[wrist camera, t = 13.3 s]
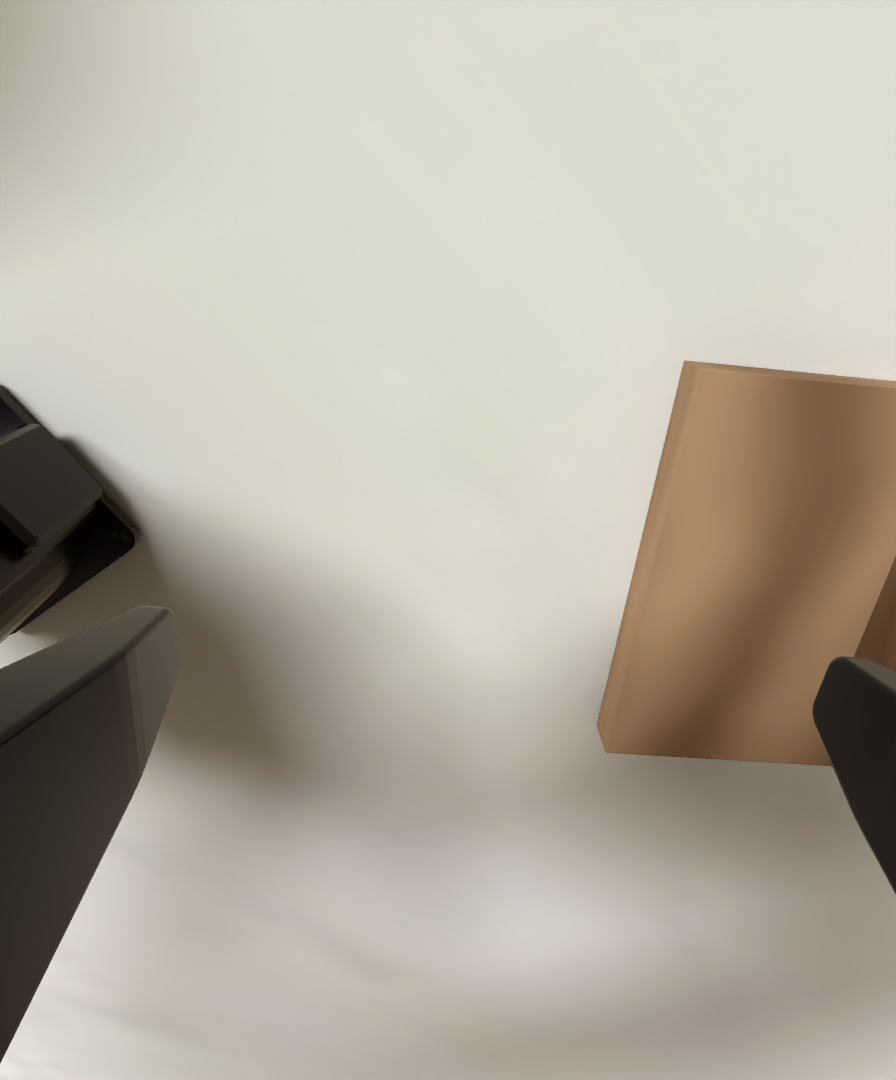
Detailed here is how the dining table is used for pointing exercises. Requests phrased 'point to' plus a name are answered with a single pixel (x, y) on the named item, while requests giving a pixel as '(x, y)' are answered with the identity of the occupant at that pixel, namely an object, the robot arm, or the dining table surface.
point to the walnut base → (757, 565)
